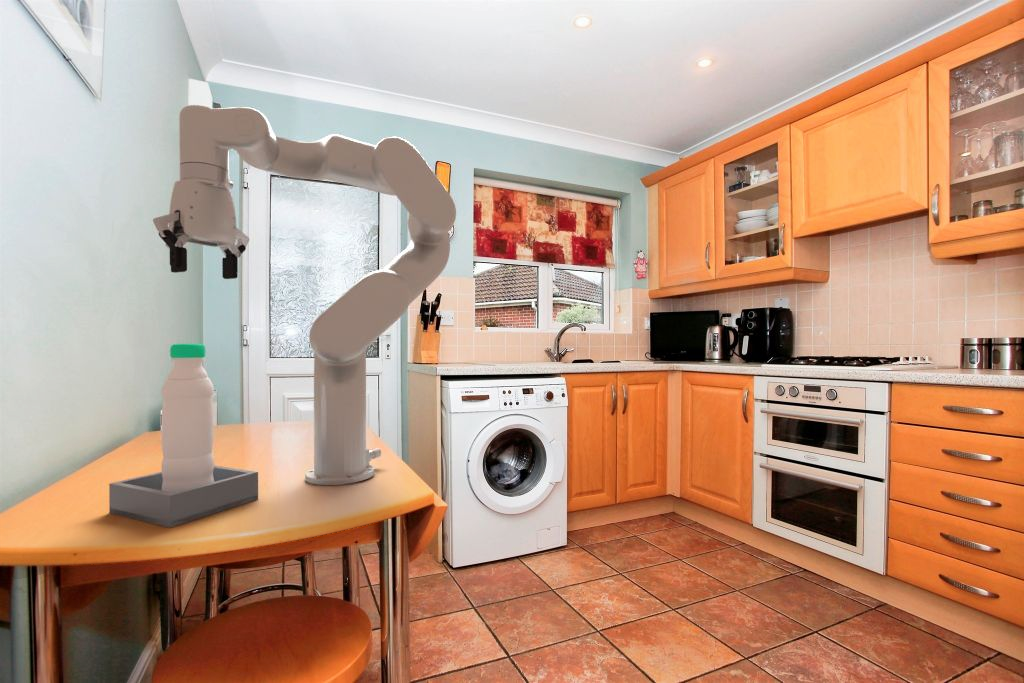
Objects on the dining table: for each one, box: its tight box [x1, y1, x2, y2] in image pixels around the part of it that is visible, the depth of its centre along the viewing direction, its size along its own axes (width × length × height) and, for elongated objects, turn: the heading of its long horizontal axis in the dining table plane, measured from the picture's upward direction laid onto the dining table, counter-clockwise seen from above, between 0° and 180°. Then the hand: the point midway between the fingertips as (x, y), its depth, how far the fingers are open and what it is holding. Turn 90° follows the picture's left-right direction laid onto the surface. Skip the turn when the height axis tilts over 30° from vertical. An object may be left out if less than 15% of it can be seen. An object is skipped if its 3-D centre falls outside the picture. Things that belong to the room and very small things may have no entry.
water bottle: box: [160, 343, 215, 493], centre depth 80 cm, size 7×7×25 cm
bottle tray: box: [108, 464, 259, 529], centre depth 79 cm, size 14×15×4 cm
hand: (205, 275), depth 89 cm, fingers open, 9 cm apart
